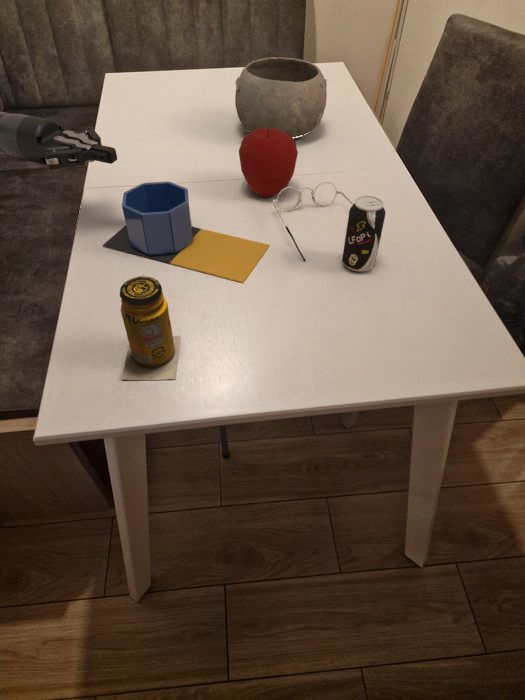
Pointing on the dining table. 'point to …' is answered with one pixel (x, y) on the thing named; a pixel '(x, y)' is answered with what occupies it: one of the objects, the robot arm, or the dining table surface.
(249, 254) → the place mat
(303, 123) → the bowl
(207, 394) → the dining table surface
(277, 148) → the apple
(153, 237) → the glazed bowl
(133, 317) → the condiment
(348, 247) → the beverage can
